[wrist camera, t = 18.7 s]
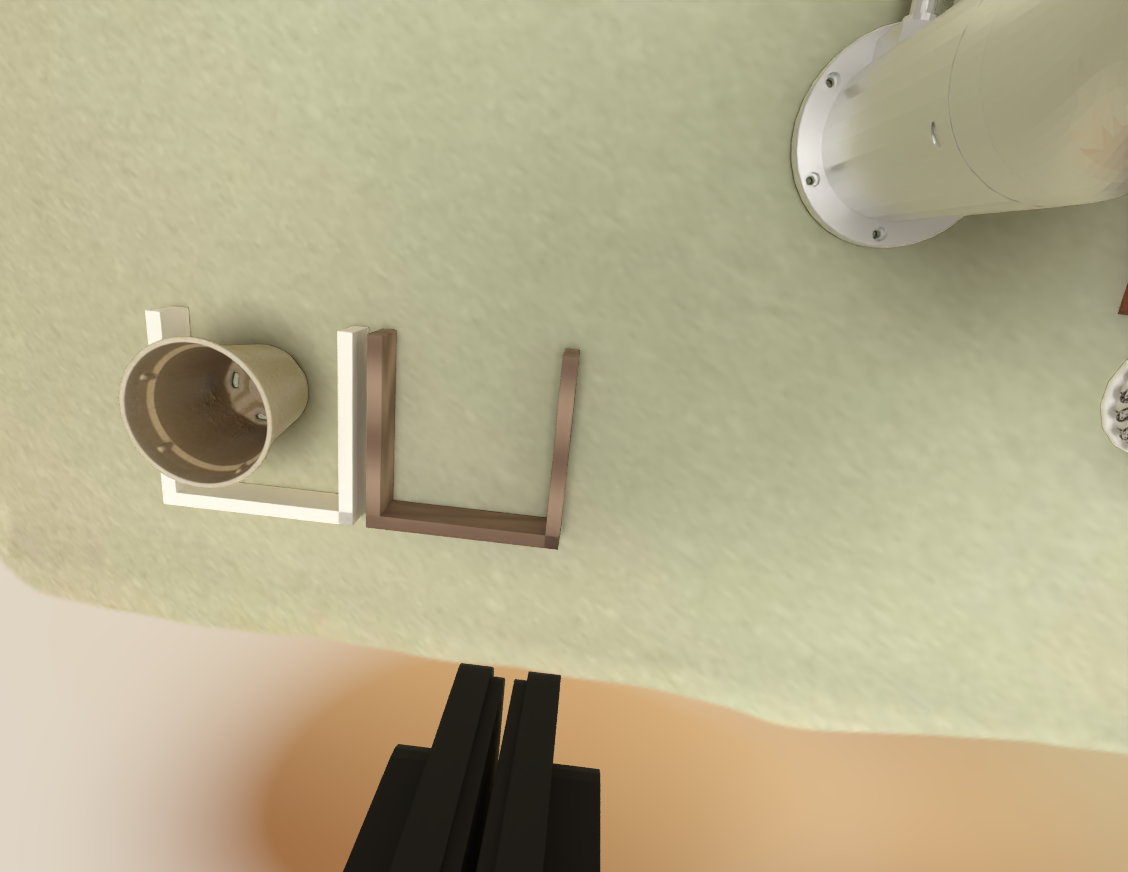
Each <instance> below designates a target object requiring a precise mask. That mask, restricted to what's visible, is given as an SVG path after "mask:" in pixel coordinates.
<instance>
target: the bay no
mask: <svg viewBox="0 0 1128 872" xmlns="http://www.w3.org/2000/svg"><path fill="white" fill-rule="evenodd" d="M396 332H397V330H389V329H381V330H378V331H375V332H372V333H370V334H367V453H366V527H368V528H376V529H385V530H394V531H402V532H411V533H419V534H428V535H436V536H445V537H454V538H462V539H471V540H479V541H488V542H497V543H505V544H514V545H522V546H531V547H539V548H548V549H557V550H558V545H559V538H560V531H561V521H562V512H563V503H564V493H565V484H566V475H567V465H568V456H569V447H570V437H571V428H572V419H573V410H574V400H575V391H576V382H577V372H578V363H579V354H580V350H574V349H565V352H564V355H563V363H562V373H561V383H560V393H559V403H558V413H557V423H556V433H555V443H554V453H553V463H552V473H551V483H550V493H549V503H548V513H547V518H544V517H535V516H526V515H517V514H509V513H500V512H491V511H483V510H474V509H465V508H457V507H448V506H439V505H431V504H422V503H413V502H405V501H396V500H393V480H394V431H395V381H396Z"/></svg>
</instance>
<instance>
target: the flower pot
mask: <svg viewBox="0 0 1128 872" xmlns="http://www.w3.org/2000/svg"><path fill="white" fill-rule="evenodd" d="M234 372H236V373H238V374H239V381H238V388H234V387H233V385H232V380H233V374H234ZM307 401H308V384H307V380H306V377H305V374H304V373H303V371H302V370H301V369H300V367H299V366H298V365H297V363H296V362H295V361H294V360H293V358H292V357H291V356H290V355H289V354H288V353H286V352H285V351H283V350H281V349H279V348H276V347H274V346H270V345H265V344H254V345H220V344H217V343H215V342H213V341H210V340H206V339H203V338H198V337H188V336H180V337H169V338H165V339H161V340H159V341H156V342H154V343H152V344H150V345H148V346H147V347H145V348H144V349H142V350H141V351H140V352H138V354H137V355H136V356H135V357H134V358H133V359H132V360H131V362H130V363H129V365H128V366H127V368H126V370H125V372H124V374H123V377H122V381H121V385H120V388H119V406H120V413H121V417H122V421H123V425H124V427H125V429H126V431H127V433H128V435H129V438H130V439H131V442H132V443H133V445H134V446H135V448H136V450H137V451H138V452H139V453H140V454H141V455H142V457H143V458H144V459H145V460H146V461H147V462H148V463H149V464H150V465H152V466H153V467H154V468H155V469H157V470H158V471H160V472H161V473H162V474H163V475H165V476H167V477H169V478H171V479H174V480H176V481H178V482H180V483H183V484H186V485H190V486H194V487H201V488H220V487H225V486H229V485H232V484H235V483H238V482H240V481H242V480H244V479H245V478H247V477H248V476H250V475H251V474H252V473H253V472H255V471H256V470H257V469H258V467H259V466H260V465H261V464H262V463H263V461H264V460H265V458H266V456H267V454H268V452H269V450H270V447H271V444H272V442H273V441H274V440H275V439H276V438H277V437H278V436H279V435H280V434H281V433H282V432H283V431H284V430H286V429H287V428H288V427H289V426H290V425H291V424H292V423H293V422H295V421H296V420H297V419H298V418H299V417H300V415H301V414H302V413H303V411H304V409H305V407H306V404H307ZM257 414H263V415H265V416H266V417H267V420H262V419H259V418H257V417H256V415H257Z"/></svg>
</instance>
